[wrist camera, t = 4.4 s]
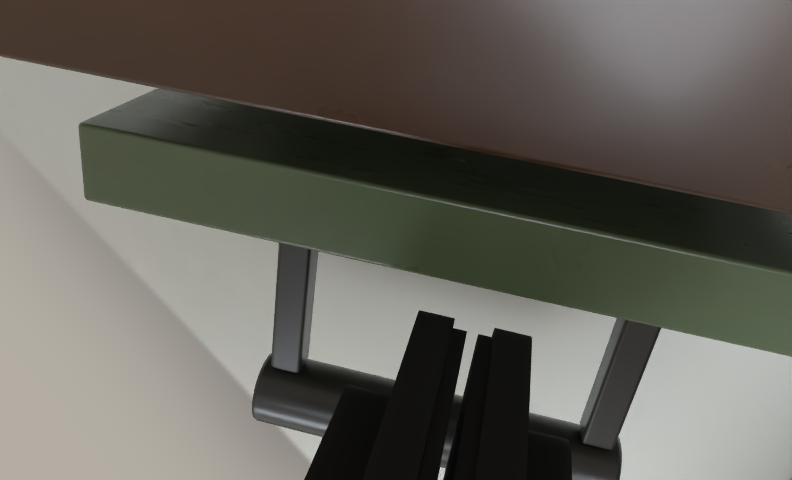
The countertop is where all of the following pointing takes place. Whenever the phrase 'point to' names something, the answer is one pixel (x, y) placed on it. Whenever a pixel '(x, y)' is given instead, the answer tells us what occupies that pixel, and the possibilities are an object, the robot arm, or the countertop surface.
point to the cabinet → (473, 75)
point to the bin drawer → (447, 242)
